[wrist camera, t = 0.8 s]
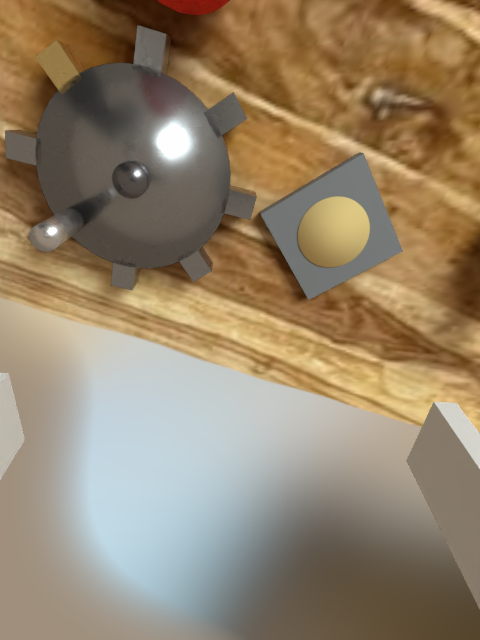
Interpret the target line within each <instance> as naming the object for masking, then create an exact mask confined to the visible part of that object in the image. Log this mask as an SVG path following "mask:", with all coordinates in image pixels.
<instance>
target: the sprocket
mask: <svg viewBox="0 0 480 640" xmlns="http://www.w3.org/2000/svg"><path fill="white" fill-rule="evenodd" d="M170 44H171V39H170V38H169V37H168V35H167V34H165V33H162V32H158V31H155V30H152V29H149V28H145V27H142V26H139V25H137V34H136V44H135V54H134V63H133V64H130V63H111V64H103V65H100V66H96V67H92V68H89V69H87V70H85V69H84V67H83V66H82V64H81V63H80V61H79V60H78V58H77V57H76V55H75V54H74V52H73V51H72V49H71V48H70V46H69V45H67V44H65V43H63V42H60V41H58V40H55V41H54V42H53V43H52V44H51V45H50V46H48V47H47V48H46V49H45V50H44V51H42V52H41V53H40V54H39V55H38V56H36V57H35V58H36V59H37V61H38V62H39V63H40V65H41V66H42V68H43V69H44V70H45V72H46V73H47V75H48V76H49V78H50V79H51V80H52V82H53V83H54V85H55V86H56V87H57V89H58V91H57V92H56V93H55V95H54V96H53V97H52V98H51V100H50V101H49V103H48V105H47V107H46V109H45V111H44V112H43V115H42V118H41V121H40V123H39V127H38V132H37V134H34V133H30V132H27V131H23V130H6V131H5V142H6V158H8V159H12V160H16V161H20V162H24V163H28V164H32V165H36V168H37V173H38V179H39V182H40V185H41V188H42V192H43V194H44V196H45V199H46V201H47V203H48V205H49V207H50V209H51V210H52V212H53V214H54V216H52V217H50V218H49V219H47V220H45V221H43V222H41V223H39V224H38V225H36V226H34V227H33V228H32V229H31V230H30V233H29V238H30V241H31V243H32V244H33V246H34V247H35V248H37V249H38V250H40V251H43V252H50V251H53V250H54V249H56V248H57V247H58V246H60V245H61V244H62V243H64V242H65V241H66V240H68V239H69V238H70V237H73V238H74V239H75V240H76V241H77V242H78V243H79V244H81V245H82V246H83V247H85V248H86V249H88V250H89V251H90V252H92V253H94V254H96V255H97V256H99V257H101V258H103V259H105V260H108V261H110V262H113V269H112V279H111V286H115V287H120V288H124V289H129V290H133V288H134V287H135V285H136V283H137V282H138V276H139V269H140V268H157V267H163V266H167V265H171V264H174V263H176V262H180V263H181V265H182V266H183V268H184V269H185V271H186V272H187V273H188V275H189V276H190V278H191V279H192V280H193V282H194V281H196V280H197V279H199V278H201V277H202V276H204V275H206V274H208V273H209V272H211V271H212V265H213V262H212V261H211V259H210V258H209V256H208V255H207V253H206V252H205V250H204V249H203V247H202V246H203V245H204V244H205V243H206V242H207V241H208V240H209V239H210V237H211V236H212V235H213V234H214V232H215V231H216V229H217V227H218V226H219V224H220V222H221V220H222V217H223V215H224V214H228V215H232V216H236V217H240V218H244V219H248V220H250V219H251V216H252V212H253V208H254V204H255V201H256V193H255V192H253V191H250V190H246V189H242V188H238V187H234V186H231V185H230V175H231V172H230V160H229V155H228V150H227V146H226V143H225V140H224V137H223V134H225V133H226V132H228V131H229V130H231V129H232V128H234V127H235V126H237V125H238V124H240V123H241V122H243V121H244V120H246V119H247V117H246V116H245V114H244V112H243V110H242V108H241V106H240V104H239V102H238V100H237V98H236V96H235V94H234V92H233V93H232V94H230V95H229V96H228V97H226V98H225V99H223V100H222V101H220V102H219V103H217V104H216V105H215V106H213V107H212V108H210V109H209V110H208V108H207V107H206V106H205V105H204V104H203V102H202V101H201V100H200V99H199V98H198V97H197V96H196V95H195V94H194V93H193V92H192V91H191V90H189V89H188V88H187V87H185V86H184V85H183V84H181V83H180V82H178V81H177V80H175V79H173V78H171V77H170V76H168V75H166V73H167V65H168V58H169V51H170ZM126 161H137V162H139V163H141V164H142V165H144V166H145V168H146V169H147V170H148V172H149V175H150V185H149V188H148V190H147V191H146V192H145V193H144V194H142V195H141V196H140V197H138V198H134V199H129V198H125V197H123V196H122V195H120V194H119V193H118V192H117V191H116V189H115V188H114V186H113V182H112V174H113V171H114V169H115V168H116V167H117V166H118V165H119V164H121V163H124V162H126Z"/></svg>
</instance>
